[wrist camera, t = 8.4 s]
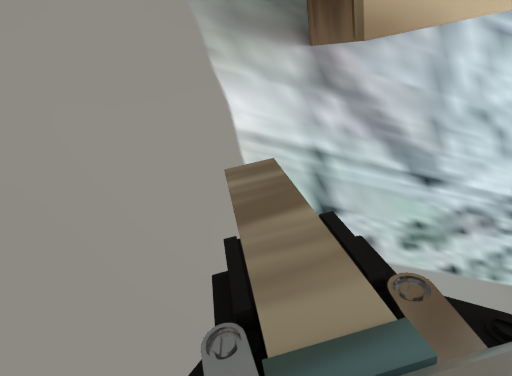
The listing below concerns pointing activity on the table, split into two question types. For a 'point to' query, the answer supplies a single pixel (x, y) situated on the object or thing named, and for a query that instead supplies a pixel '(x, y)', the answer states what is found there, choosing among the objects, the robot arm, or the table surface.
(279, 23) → the table surface
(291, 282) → the block
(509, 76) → the table surface
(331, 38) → the wooden box with slot
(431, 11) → the lid
